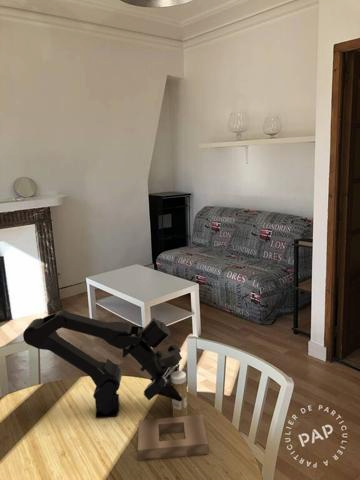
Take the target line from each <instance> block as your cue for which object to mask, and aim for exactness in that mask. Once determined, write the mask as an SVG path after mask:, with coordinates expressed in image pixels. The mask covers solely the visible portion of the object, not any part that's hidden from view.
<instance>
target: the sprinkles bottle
mask: <svg viewBox="0 0 360 480" xmlns="http://www.w3.org/2000/svg"><path fill="white" fill-rule="evenodd" d="M171 383H172V384H171V385H172V386H173V387H174V388H175V390H176V391H177V392H178V393H179V395H180V396H181V397H182V401H177V400H174V399H171V402H172V416H173V417H183V416H189V414H188V413H189V412H188V397H187V391H186V389H187V373H186V372H185V371H183V370H179V371H175V372H173V373H172V374H171Z"/></svg>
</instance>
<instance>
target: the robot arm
mask: <svg viewBox="0 0 360 480" xmlns="http://www.w3.org/2000/svg"><path fill="white" fill-rule="evenodd" d="M60 329H66V330H70V331H73V332H77V333H80V334H81V333H82V334H84V335H88V336H91V337H94V338H99V339H101V340H103V341H104V342H105V343H107V344H108V345H110V346H112V347H114V348H116V349H119V350H122V358H123V359H124V358H126V357H127V356H128V355H129V356H131V357H132V358H133V359H134V360H135V361H136V362H137V363H138V365H140V369H139V370H140V371H141V372H144V371H145V372H147V374H148V375H149V376H150V378H149V380H150V381H151V382H150V383H149V384H148V385H147V386H146V388H145V389H144V390H143V395H144V397H145V398H146V399H147V400H148V401H151V399H153V398H154V397H155V396H157V395H159V396H163V397H165V398H169V399H171V400H172V399H174V400H177V401H182V397H181V396H180V395H179V393H178V392H177V391H176V390H175V388H174V387H173V386H172V383H171V374H172V373H173V372H175V371H180V362H181V360H182V358H183V357H182V355H181V352H182V350H181V349H180V348H179V347H178V346H177V345H175V344H174V343H173V344H170V345H169V346H168V348H167V350H166V351H165V352H161V351H160V350H157V351H155V350H154V348H158V347H159V346H160V345H161V344H162V343H163V342H164V341H166V339H167V338H168V337H169V336H170V335H171V330H170V328H169V327H168V326H167V325H166V324H165V323H164V322H163V321H161V320H158V319H156V318H155V317H153V318H152V319H151V320H150V321H149V323H148V324H147V325H146V326H139V325H132V324H130V323H129V322H122V321H110V322H109V321H102V320H99V319H95V318H90V317H88V316H83V315H79V314H76V313H72V312H71V311H68V310H65V309H61V310H60V309H59V310H58V311H57V312H55V313H52V314H48V315H46V316H45V317H40V318H35V319H33V320H32V321H31V322H30V323H29V324H28V326H27V327H26V328H25V329H24V331H23V334H22V337H23V341H24V343H26V344H27V345H29V346H31V347H33V348H36V349H38V350H45V351H49V352H51V353H53V354H54V355H56V356H57V357H59V358H61V359H62V360H64V361H65V362H68V364H70V365H72V366H73V367H75V368H77V369H78V370H80V371H81V372H83V373H84V374H86V375H87V376H89V377H90V379H91V380H92V382H93V384H94V385H95V388H94V392H93V395H92V396H93V399H94V400H95V401H94V402H95V410H96V411H95V419H97V418H98V419H101V418H109V417H111V418H112V417H113V418H114V417H118V413H119V411H120V406H121V405H120V394H119V393H118V392H117V391H119V389H120V386H121V381H122V377H123V373H122V369H120V367H119V364H117V363H114V362H113V361H111V359H109V358H107V359H106V360H105V362H104V361H98V359H96V358H94V357H92V356H91V355H89V354H88V353H86V352H85V351H83V350H81V349H80V348H78V347H77V346H75V345H74V344H73V343H71V342H69V341H67V340H66V339H64V338H63V337H61V336H60V335H59V334H58V330H60ZM186 392H188V389H187V388H186Z"/></svg>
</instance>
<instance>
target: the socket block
mask: <svg viewBox="0 0 360 480" xmlns="http://www.w3.org/2000/svg"><path fill="white" fill-rule="evenodd" d="M203 418H204V417H203V414H197V415H196V414H195V415H187V416H183V417H174V416H173V417H172V416H171V417H161V418H152V419H151V418H150V419H140V420H139V419H138V431H137V432H138V433H137V434H138V436H137V441H138V442H137V456H138V457H137V458H138V461H145V460H157V459H166V458H167V459H168V458H178V457H189V456H199V455H200V456H201V455H208V454H209V443H208V437H207V432H206V428H205V423H204V419H203ZM182 432H183V434H184V439H183V438H181V439H174V440H171V439H170V440H161V441H160V434H162V435H163V434H171V433H182Z"/></svg>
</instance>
